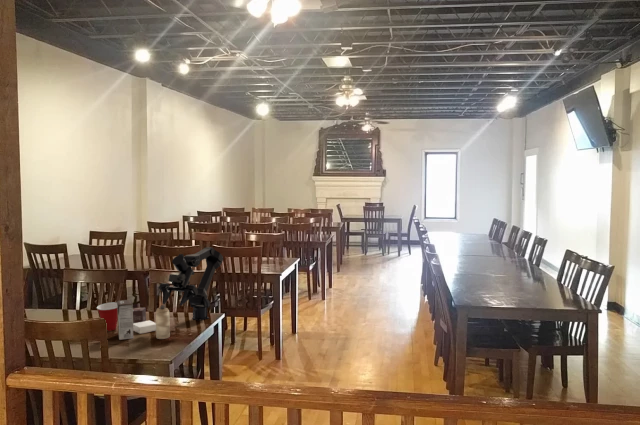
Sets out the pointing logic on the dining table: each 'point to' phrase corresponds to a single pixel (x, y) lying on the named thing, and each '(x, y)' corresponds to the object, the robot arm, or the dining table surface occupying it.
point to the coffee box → (125, 319)
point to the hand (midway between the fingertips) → (171, 304)
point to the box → (139, 315)
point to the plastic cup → (109, 314)
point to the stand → (144, 327)
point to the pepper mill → (162, 323)
